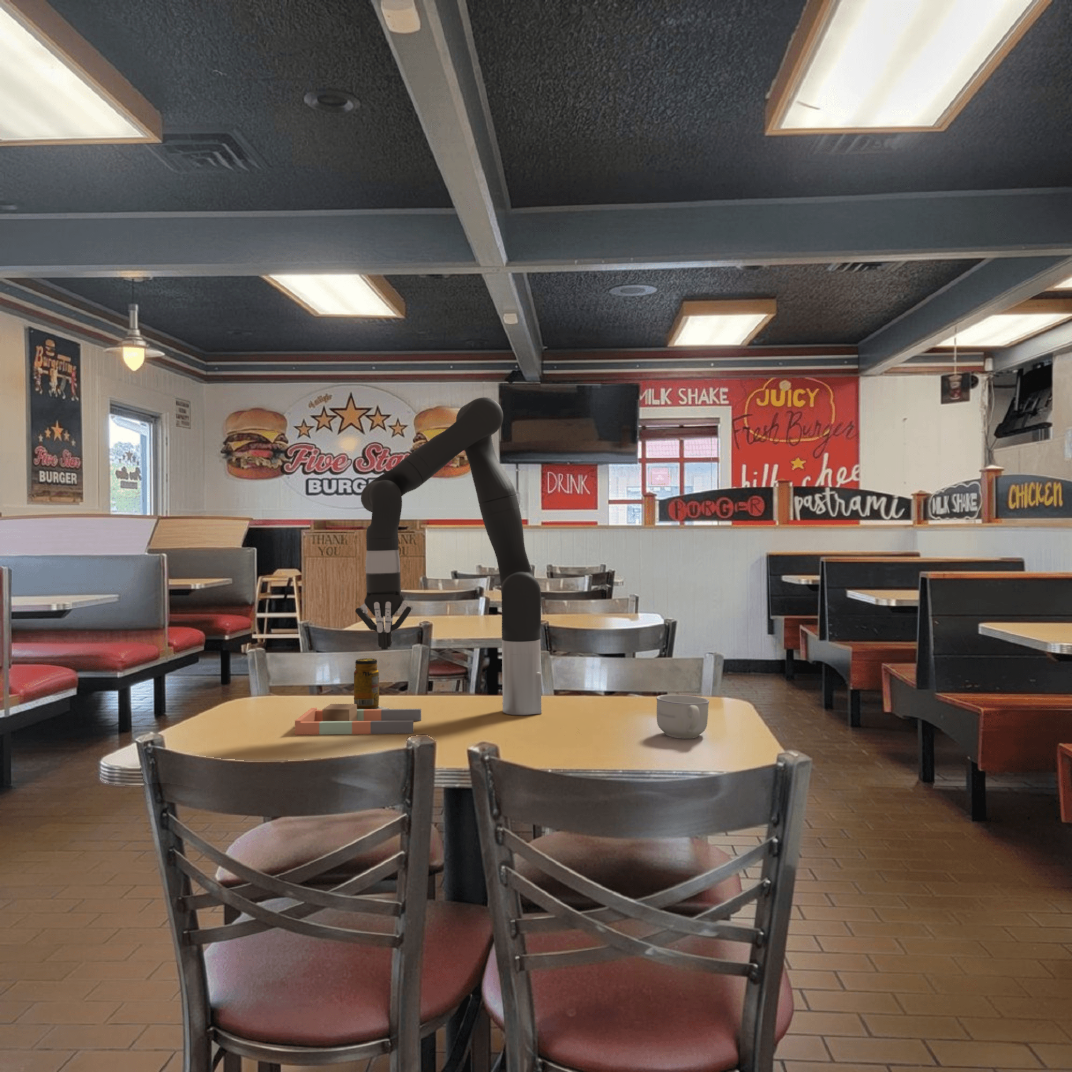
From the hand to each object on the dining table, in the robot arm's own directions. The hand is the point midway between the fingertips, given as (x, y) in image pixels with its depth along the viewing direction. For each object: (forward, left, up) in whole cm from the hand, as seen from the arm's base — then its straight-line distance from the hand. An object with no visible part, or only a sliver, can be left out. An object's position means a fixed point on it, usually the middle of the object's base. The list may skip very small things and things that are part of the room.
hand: (385, 649), depth 189 cm
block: (+11, -1, -17) cm, 20 cm away
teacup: (-64, +13, -18) cm, 67 cm away
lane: (+5, 0, -17) cm, 18 cm away
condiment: (+8, -20, -18) cm, 28 cm away
